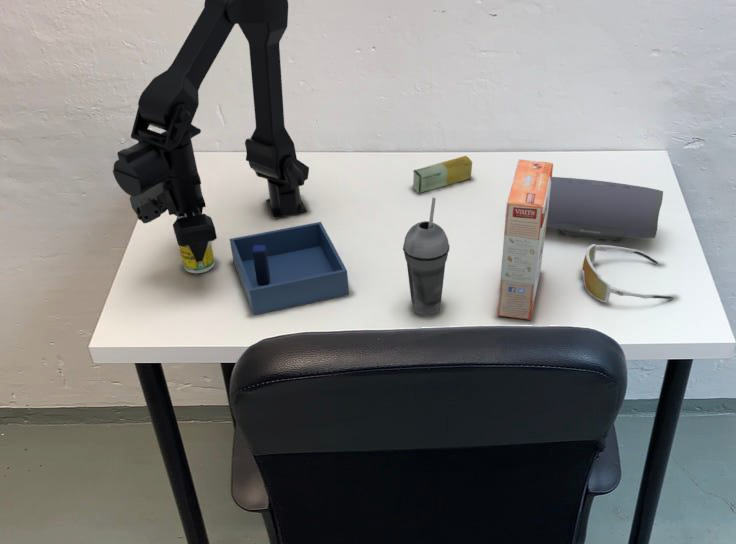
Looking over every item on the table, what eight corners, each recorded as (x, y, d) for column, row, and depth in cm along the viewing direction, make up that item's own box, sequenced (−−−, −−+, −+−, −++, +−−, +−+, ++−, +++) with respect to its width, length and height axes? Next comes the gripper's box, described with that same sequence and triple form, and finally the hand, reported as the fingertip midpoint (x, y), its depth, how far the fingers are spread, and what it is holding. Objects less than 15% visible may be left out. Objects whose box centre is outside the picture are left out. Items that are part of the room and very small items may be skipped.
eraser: (258, 278, 152) (252, 243, 147) (271, 278, 152) (266, 244, 147) (256, 285, 150) (250, 251, 145) (269, 285, 150) (264, 251, 145)
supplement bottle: (220, 260, 156) (210, 211, 149) (205, 276, 152) (195, 227, 146) (192, 254, 157) (182, 206, 150) (177, 271, 154) (166, 222, 147)
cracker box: (533, 321, 144) (545, 206, 129) (496, 317, 144) (504, 201, 130) (542, 273, 153) (555, 160, 139) (507, 269, 154) (516, 157, 140)
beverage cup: (402, 295, 149) (400, 187, 135) (446, 293, 149) (447, 185, 135) (405, 322, 144) (403, 212, 129) (450, 320, 144) (452, 210, 130)
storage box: (233, 262, 156) (229, 238, 152) (323, 244, 160) (320, 221, 156) (253, 315, 145) (249, 290, 142) (349, 294, 149) (347, 270, 146)
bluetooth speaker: (654, 227, 164) (664, 177, 157) (652, 254, 158) (662, 204, 150) (532, 212, 168) (536, 163, 161) (524, 238, 161) (529, 189, 154)
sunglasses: (571, 260, 156) (578, 235, 153) (653, 267, 158) (662, 243, 155) (586, 308, 146) (594, 283, 142) (673, 315, 148) (683, 291, 145)
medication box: (418, 194, 173) (418, 177, 169) (411, 187, 174) (412, 169, 171) (471, 178, 176) (473, 161, 173) (465, 171, 178) (466, 153, 175)
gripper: (120, 151, 146) (141, 233, 157) (134, 206, 134) (156, 291, 145) (188, 140, 149) (204, 221, 160) (208, 193, 137) (224, 278, 147)
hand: (196, 252), depth 153 cm, fingers closed on supplement bottle, 5 cm apart
